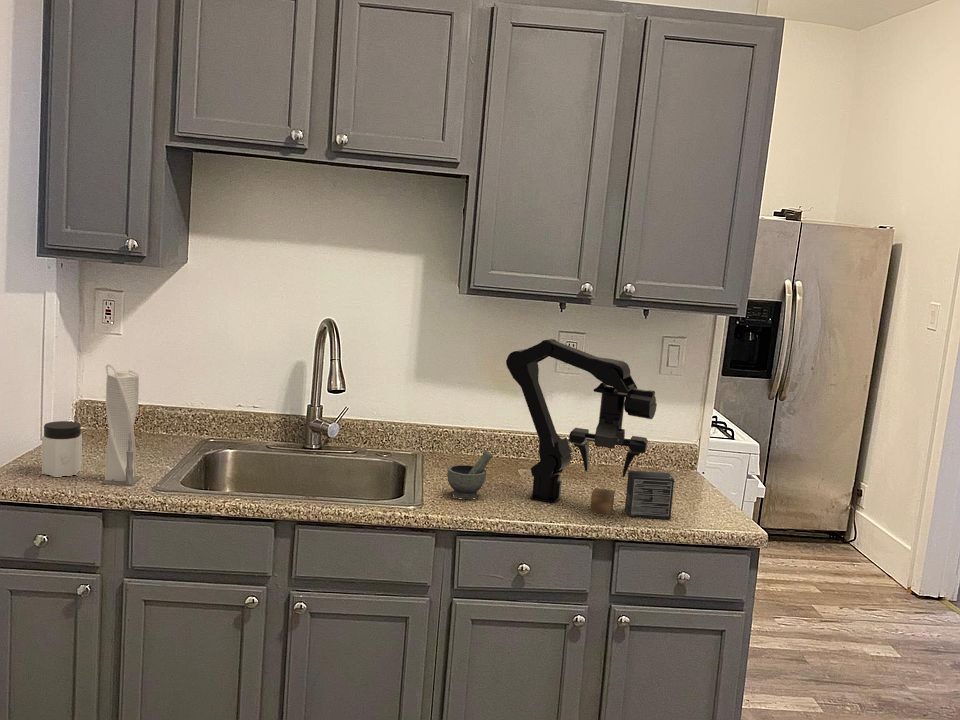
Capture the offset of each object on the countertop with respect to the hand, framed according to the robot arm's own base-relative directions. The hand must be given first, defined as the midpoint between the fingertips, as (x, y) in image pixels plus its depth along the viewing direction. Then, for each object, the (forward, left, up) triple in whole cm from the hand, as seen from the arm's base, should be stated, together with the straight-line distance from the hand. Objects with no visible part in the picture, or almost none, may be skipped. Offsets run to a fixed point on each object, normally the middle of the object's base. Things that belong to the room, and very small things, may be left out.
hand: (604, 474), depth 231 cm
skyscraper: (-111, -38, -10) cm, 118 cm away
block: (0, 0, -10) cm, 10 cm away
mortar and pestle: (-33, -6, -10) cm, 35 cm away
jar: (-126, -40, -10) cm, 132 cm away
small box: (+11, +3, -10) cm, 15 cm away
